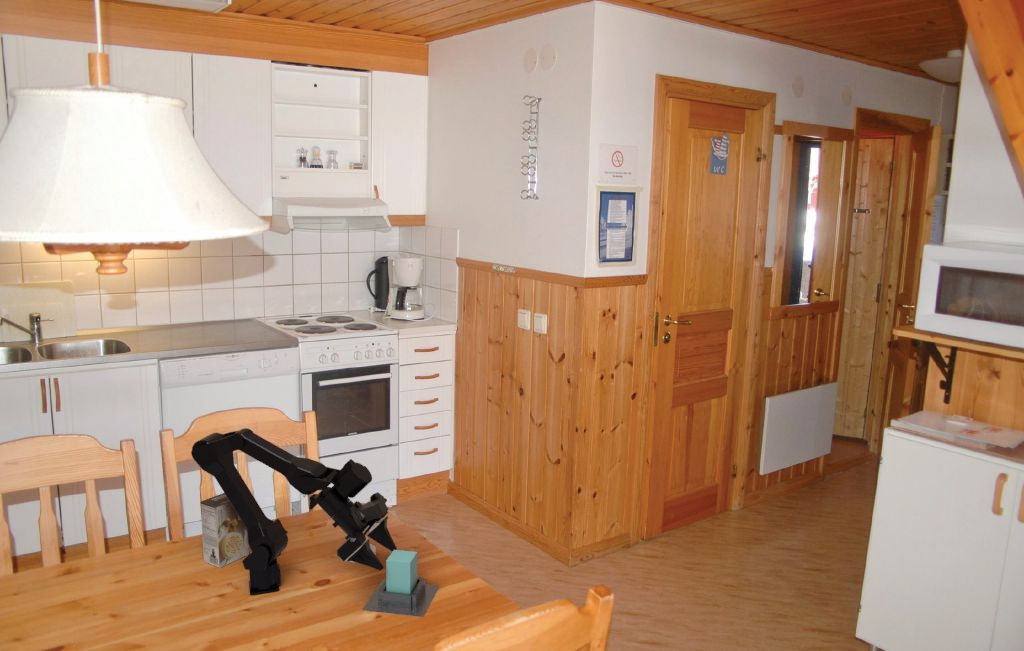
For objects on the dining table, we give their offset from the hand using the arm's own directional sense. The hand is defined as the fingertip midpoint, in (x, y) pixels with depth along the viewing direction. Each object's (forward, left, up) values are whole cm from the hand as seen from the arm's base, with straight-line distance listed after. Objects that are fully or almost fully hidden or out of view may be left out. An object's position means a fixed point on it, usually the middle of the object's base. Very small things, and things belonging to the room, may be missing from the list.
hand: (389, 559), depth 177 cm
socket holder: (+3, -1, -10) cm, 11 cm away
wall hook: (-3, +24, -10) cm, 26 cm away
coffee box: (-34, +34, -10) cm, 49 cm away
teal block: (+3, -1, -9) cm, 9 cm away
